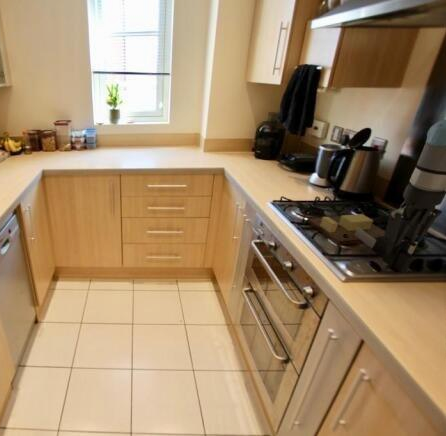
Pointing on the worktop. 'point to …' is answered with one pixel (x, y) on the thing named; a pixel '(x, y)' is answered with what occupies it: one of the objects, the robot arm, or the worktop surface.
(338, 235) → the board
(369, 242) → the knife
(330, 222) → the butter slice
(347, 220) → the butter
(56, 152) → the worktop surface
